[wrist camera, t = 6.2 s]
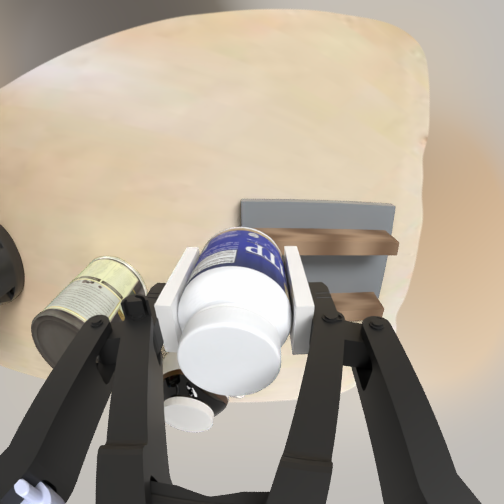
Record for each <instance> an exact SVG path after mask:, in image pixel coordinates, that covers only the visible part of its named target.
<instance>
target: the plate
mask: <svg viewBox="0 0 504 504" xmlns="http://www.w3.org/2000/svg"><path fill="white" fill-rule="evenodd" d="M394 214H395V206H394V205H392V204H387V203H371V202H352V201H329V200H295V199H242V200H241V222H242V227H248V228H314V229H363V230H385V231H387V232H388V233H389V234H390V235H391V234H392V227H393V221H394ZM387 256H388V255H300V258H301V262H302V265H303V268H304V272H305V275H306V278H307V282H323V283H324V284H325V285H326V286H327V287H328V289H329V292H330V293H355V292H374V293H375V295H376V297H377V298H379V294H380V290H381V285H382V281H383V276H384V271H385V267H386V261H387ZM282 258H283V262H284V255H282Z"/></svg>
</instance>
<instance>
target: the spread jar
mask: <svg viewBox="0 0 504 504" xmlns="http://www.w3.org/2000/svg"><path fill="white" fill-rule="evenodd" d="M163 394H164V416H165V422H166V423H167V424H168V425H170V426H172V427H174V428H176V429H179V430H182V431H186V432H203V431H206V430H209V429H210V428H211V427H212V426H213V419H214V417H215V416H216V415H217V414H219V413H220V412H221V411H223V410H224V409H225V407H226V406H227V403H228V400H229V396H225V395H219V394H215V393H211V392H208V391H206V390H204V389H202V388H200V387H198V386H197V385H195V384H194V383H192V382H191V381H190V380H189V379H188V378H187V377H186V376H185V375H184V373H183V372H182V370H181V369H180V367H179V364H178V360H177V353H176V352H169V353H168V354H167V355H166V356H165V357H164V359H163ZM244 396H245V395H243V396H230V397H235V398H243V397H244Z"/></svg>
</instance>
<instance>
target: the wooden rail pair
mask: <svg viewBox="0 0 504 504" xmlns="http://www.w3.org/2000/svg"><path fill="white" fill-rule="evenodd" d="M253 229H256V230H258V231H261V232H263V233H264V234H266V235H267V236H269V237H270V238H271V239H272V240H273V241H274V242H275V243H276V245H277V246H278V248H279V250H280V252H281V254H282V255H284V246H297V249H298V252H299V255H397V252H398V247H399V242H398V241H397V240H396V239H395V238H394V237H392V236H391V235H390V234H389V233H388V232H387V231H385V230H363V229H314V228H253ZM330 294H331V298H332V299H333V302H334V304H335V307H336V309H337V311H338V312H340V313H342V314H343V316H344V317H345V320H346V321H357V320H364V319H365V318H367V317H370V316H379V317H382V315H383V312H384V307H383V306H382V304H381V303H380V301H379V300H378V298H377V297H376V295H375V293H374V292H355V293H330Z"/></svg>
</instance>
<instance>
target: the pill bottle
mask: <svg viewBox="0 0 504 504" xmlns="http://www.w3.org/2000/svg"><path fill="white" fill-rule="evenodd" d="M178 321H179V326H180V328H181V331H182V335H181V339H180V342H179V345H178V350H177V360H178V364H179V367H180V369H181V370H182V372H183V373H184V375H185V376H186V377H187V378H188V379H189V380H190V381H191V382H192V383H194V384H195V385H197V386H198V387H200V388H202V389H204V390H206V391H208V392H211V393H215V394H219V395H225V396H243V395H248V394H252V393H255V392H258V391H260V390H262V389H264V388H266V387H267V386H268V385H270V384H271V383H272V382H273V381H274V380H275V378H276V377H277V375H278V373H279V371H280V367H281V347H282V345H283V344H284V343H285V341H286V339H287V337H288V335H289V333H290V329H291V324H292V311H291V304H290V298H289V291H288V285H287V279H286V274H285V268H284V262H283V258H282V254H281V252H280V250H279V248H278V246H277V245H276V243H275V242H274V241H273V240H272V239H271V238H270V237H269V236H267V235H266V234H264V233H263V232H261V231H258V230H256V229H253V228H248V227H233V228H229V229H225V230H223V231H221V232H219V233H217V234H216V235H214V236H213V237H212V238H211V239H210V240H209V241H208V242H207V244H206V245H205V247H204V248H203V250H202V252H201V254H200V256H199V258H198V261H197V263H196V265H195V267H194V269H193V271H192V273H191V276H190V278H189V280H188V282H187V284H186V286H185V288H184V291H183V293H182V296H181V299H180V302H179V306H178Z"/></svg>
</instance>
